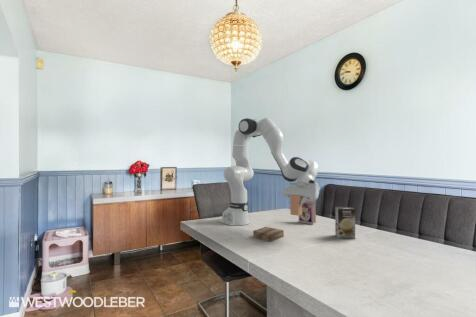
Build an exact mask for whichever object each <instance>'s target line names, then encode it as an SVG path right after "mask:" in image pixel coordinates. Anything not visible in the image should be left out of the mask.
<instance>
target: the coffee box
mask: <svg viewBox="0 0 476 317" xmlns="http://www.w3.org/2000/svg"><path fill="white" fill-rule="evenodd" d="M334 217H335V222H334V223H335V224H334V225H335V231H334V232H335V233H334V234H335V236H336V237H337V239H356V209H355V208H354V207H353V206H352V207H351V206H350V207H348V206H335V216H334Z"/></svg>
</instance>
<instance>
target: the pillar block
mask: <svg viewBox="0 0 476 317" xmlns="http://www.w3.org/2000/svg"><path fill="white" fill-rule="evenodd" d="M301 200H302V196H296V195H293V196H290V198H289V201H290V203H289V205H290V210H289V211H290V215H293V216H297V217H299V215H301V214H302V205H300V204H299V202H300V201H301Z"/></svg>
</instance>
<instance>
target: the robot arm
mask: <svg viewBox="0 0 476 317" xmlns="http://www.w3.org/2000/svg"><path fill="white" fill-rule="evenodd" d="M260 136H262V138H263V139H264V140H265V142H266V143H267V145H268V148H269V151H270V153H271V155H272V157H273V159H274V160H275V162H276V164H277V165H278V166H277V167H278V168H279V169H280V173H281V176H282V178H283V179H284V181H287V182H290V183H289V184H287V185H286V186H285V187H284V189H283V190H282V195H283V196H284V198H289V199H290V196H293V195H296V196H302V200H301V201H300V202H299V204H300V205H303V203H304V202H305V201H307V200H313V201H317V200H318V199H319V195H320V190H321V188H320V185H319V184H318V182H317V180H316V178H317V176H318V172H319V165H318V163H317V162H316V161H314V160H312V159H309V160H307V159H302V158H301V157H298V156H294V157H291V158H290V160H287V158H286V156H285V154H284V152H283V151H284V150H283V145H284V134H283V132H282V131H281V129H280V128H279V127H278V125H277V124H276V123H275V122H274V121H273V120H272V119H271V118H268V117H264V118H262V119H260V120H258V119H256V118H248V117H247V118H243V119H241V120H240V121H239V123H238V129H236V131H235V132H234V136H233V140H232V154H231V155H232V158H233V159H234V161H235V164H236V165H231V166H228V167H226V168H225V169H224V172H223V178H224V179H225V181H226V182H227V184H228V186H229V187H230V198H231V199H230V200H231V201H230V202H229V203H228V205H229V206H228V207H227V209H225V210H224V211H223V212H222V216H221V218H219V220H218V222H219V223H222V224H224V225H228V226H245V225H249V224H250V223H251V221H250V217H249V210H248V209H249V202H248V190H247V188H245V185H244V182H247V181H250V180H252V179H253V177H254V175H255V174H254V173H255V172H254V169H253V168H252V166H251V164H250V158H249V155H250V154H249V153H250V140H251V138H256V137H260ZM295 181H296V182H295ZM293 182H295V183H293ZM288 202H289V204H290V200H289V201H288Z"/></svg>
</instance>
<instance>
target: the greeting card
mask: <svg viewBox="0 0 476 317" xmlns="http://www.w3.org/2000/svg"><path fill="white" fill-rule="evenodd" d="M316 202H317V200H307V201H305V202H304V203H303V205H302V214H301V215H298V223H301V224H303V223H304V224H307V225H314V223H315V224H316V223H317V221H316V220H317V219H316V218H317V212H316V208H317V207H316V204H317V203H316Z"/></svg>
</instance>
